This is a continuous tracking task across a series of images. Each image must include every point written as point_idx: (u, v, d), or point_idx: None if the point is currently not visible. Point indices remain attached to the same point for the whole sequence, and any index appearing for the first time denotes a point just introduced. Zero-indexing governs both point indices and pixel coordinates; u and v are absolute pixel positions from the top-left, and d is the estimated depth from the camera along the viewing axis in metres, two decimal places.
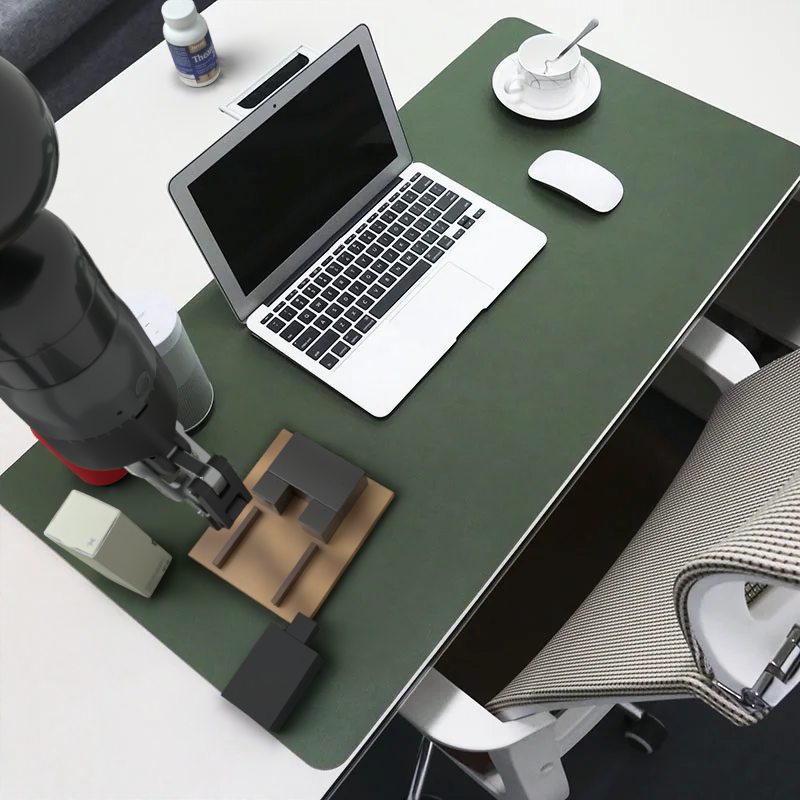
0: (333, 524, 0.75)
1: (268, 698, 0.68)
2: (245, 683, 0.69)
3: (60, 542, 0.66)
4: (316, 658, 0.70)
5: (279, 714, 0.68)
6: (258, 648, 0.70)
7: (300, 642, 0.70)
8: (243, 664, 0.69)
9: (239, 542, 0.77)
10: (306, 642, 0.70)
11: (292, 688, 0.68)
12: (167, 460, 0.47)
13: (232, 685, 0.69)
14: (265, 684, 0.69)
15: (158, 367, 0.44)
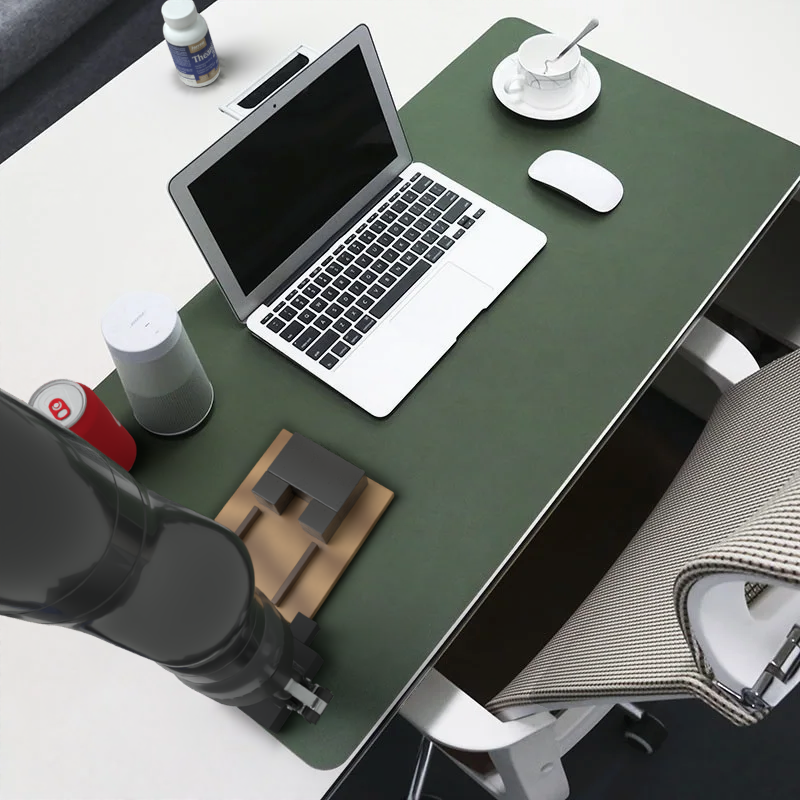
0: (333, 524, 0.75)
1: None
2: None
3: None
4: (316, 658, 0.70)
5: (279, 714, 0.68)
6: None
7: (300, 642, 0.70)
8: None
9: None
10: (306, 642, 0.70)
11: None
12: (288, 694, 0.60)
13: None
14: None
15: (284, 633, 0.57)
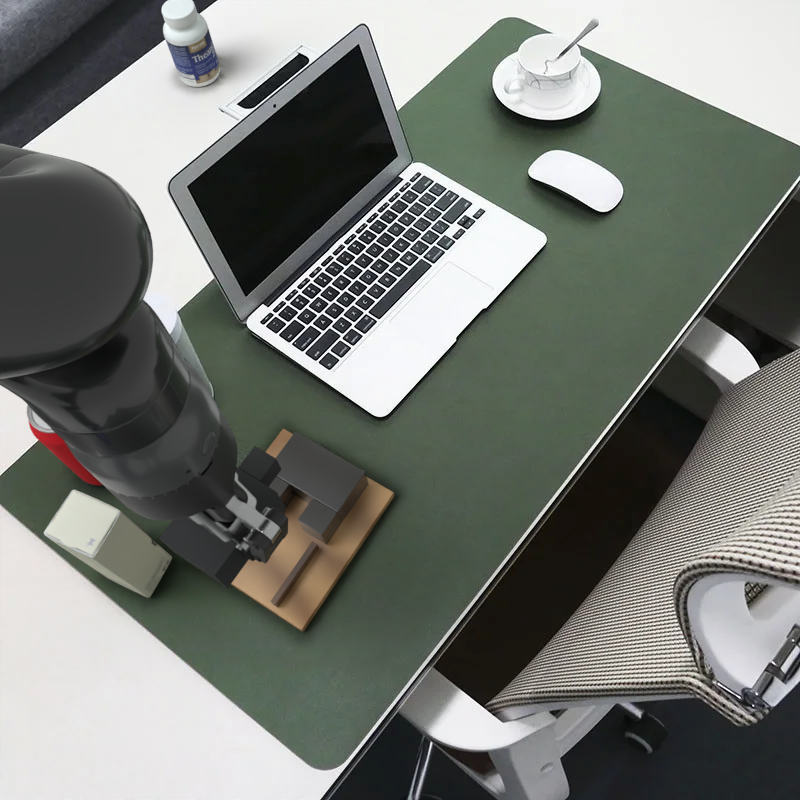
0: (333, 524, 0.75)
1: (216, 540, 0.57)
2: (189, 525, 0.58)
3: (60, 542, 0.66)
4: (274, 497, 0.58)
5: (228, 559, 0.57)
6: None
7: (255, 479, 0.59)
8: None
9: None
10: (263, 480, 0.59)
11: None
12: (230, 513, 0.49)
13: (173, 527, 0.58)
14: None
15: (221, 425, 0.46)
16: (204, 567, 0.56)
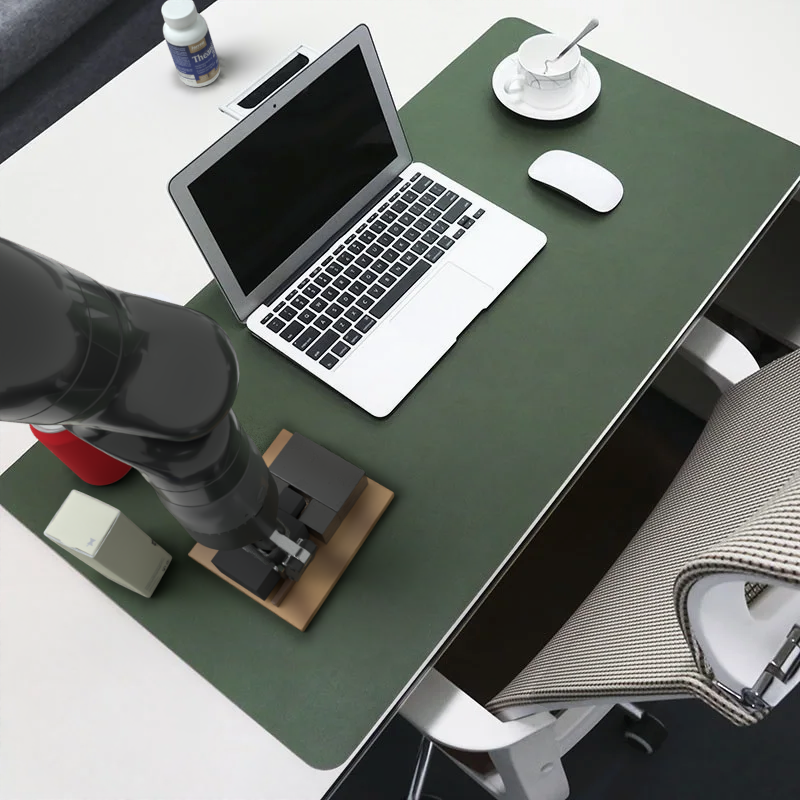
0: (333, 524, 0.75)
1: (256, 563, 0.72)
2: (234, 551, 0.72)
3: (60, 542, 0.66)
4: (302, 528, 0.73)
5: (266, 578, 0.71)
6: None
7: (287, 513, 0.73)
8: None
9: None
10: (292, 514, 0.74)
11: None
12: (273, 543, 0.64)
13: (222, 552, 0.72)
14: None
15: (269, 477, 0.60)
16: (247, 584, 0.71)
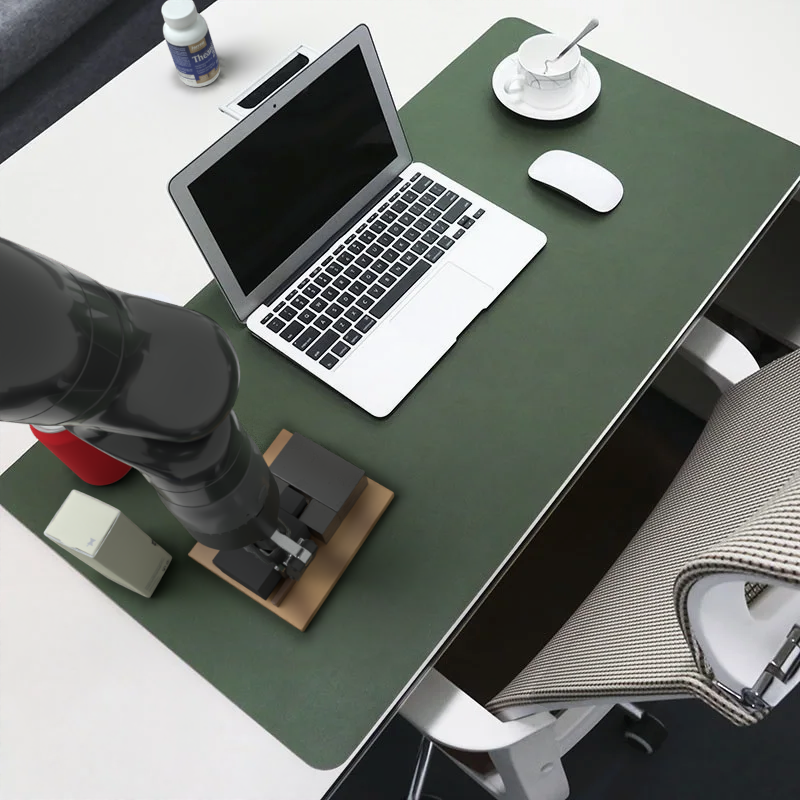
0: (333, 524, 0.75)
1: (257, 562, 0.72)
2: (236, 550, 0.72)
3: (60, 542, 0.66)
4: (303, 528, 0.73)
5: (267, 577, 0.71)
6: None
7: (288, 513, 0.74)
8: None
9: None
10: (294, 514, 0.74)
11: None
12: (274, 543, 0.64)
13: (223, 552, 0.72)
14: None
15: (270, 478, 0.61)
16: (249, 584, 0.71)
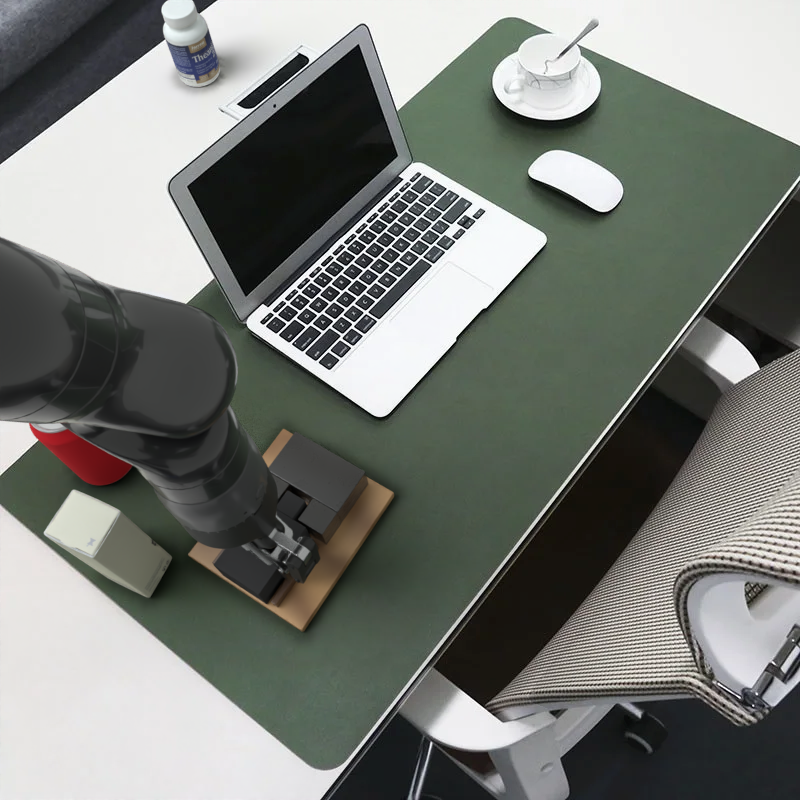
0: (333, 524, 0.75)
1: (259, 567, 0.72)
2: (237, 554, 0.73)
3: (60, 542, 0.66)
4: (304, 532, 0.74)
5: (268, 581, 0.72)
6: None
7: (289, 517, 0.74)
8: None
9: None
10: (294, 518, 0.74)
11: None
12: (271, 540, 0.63)
13: (224, 556, 0.73)
14: None
15: (268, 475, 0.60)
16: (250, 588, 0.71)
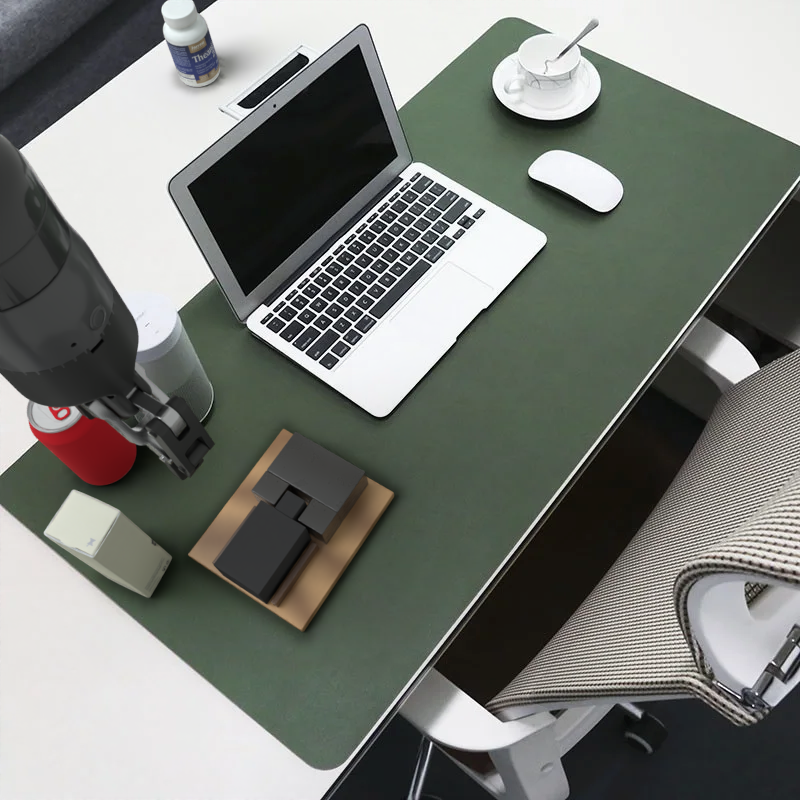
0: (333, 524, 0.75)
1: (259, 567, 0.72)
2: (237, 554, 0.73)
3: (60, 542, 0.66)
4: (304, 532, 0.74)
5: (268, 581, 0.72)
6: (249, 523, 0.74)
7: (289, 517, 0.74)
8: (235, 537, 0.74)
9: None
10: (294, 518, 0.74)
11: (281, 558, 0.72)
12: (126, 400, 0.47)
13: (224, 556, 0.73)
14: (256, 555, 0.73)
15: (115, 303, 0.44)
16: (250, 588, 0.71)
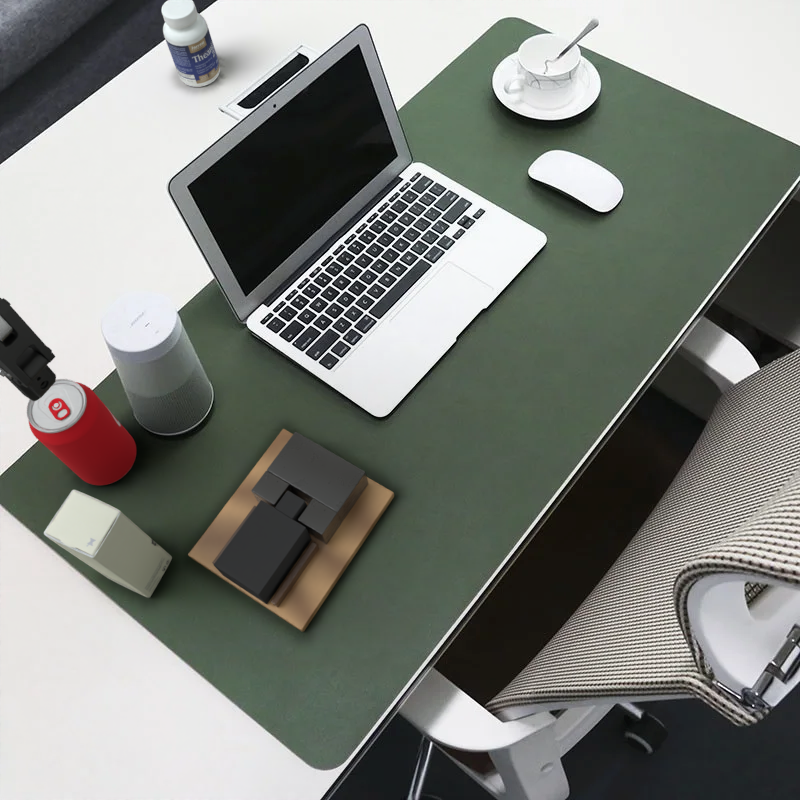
0: (333, 524, 0.75)
1: (259, 567, 0.72)
2: (237, 554, 0.73)
3: (60, 542, 0.66)
4: (304, 532, 0.74)
5: (268, 581, 0.72)
6: (249, 523, 0.74)
7: (289, 517, 0.74)
8: (235, 537, 0.74)
9: None
10: (294, 518, 0.74)
11: (281, 558, 0.72)
12: None
13: (224, 556, 0.73)
14: (256, 555, 0.73)
15: None
16: (250, 588, 0.71)
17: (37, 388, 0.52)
